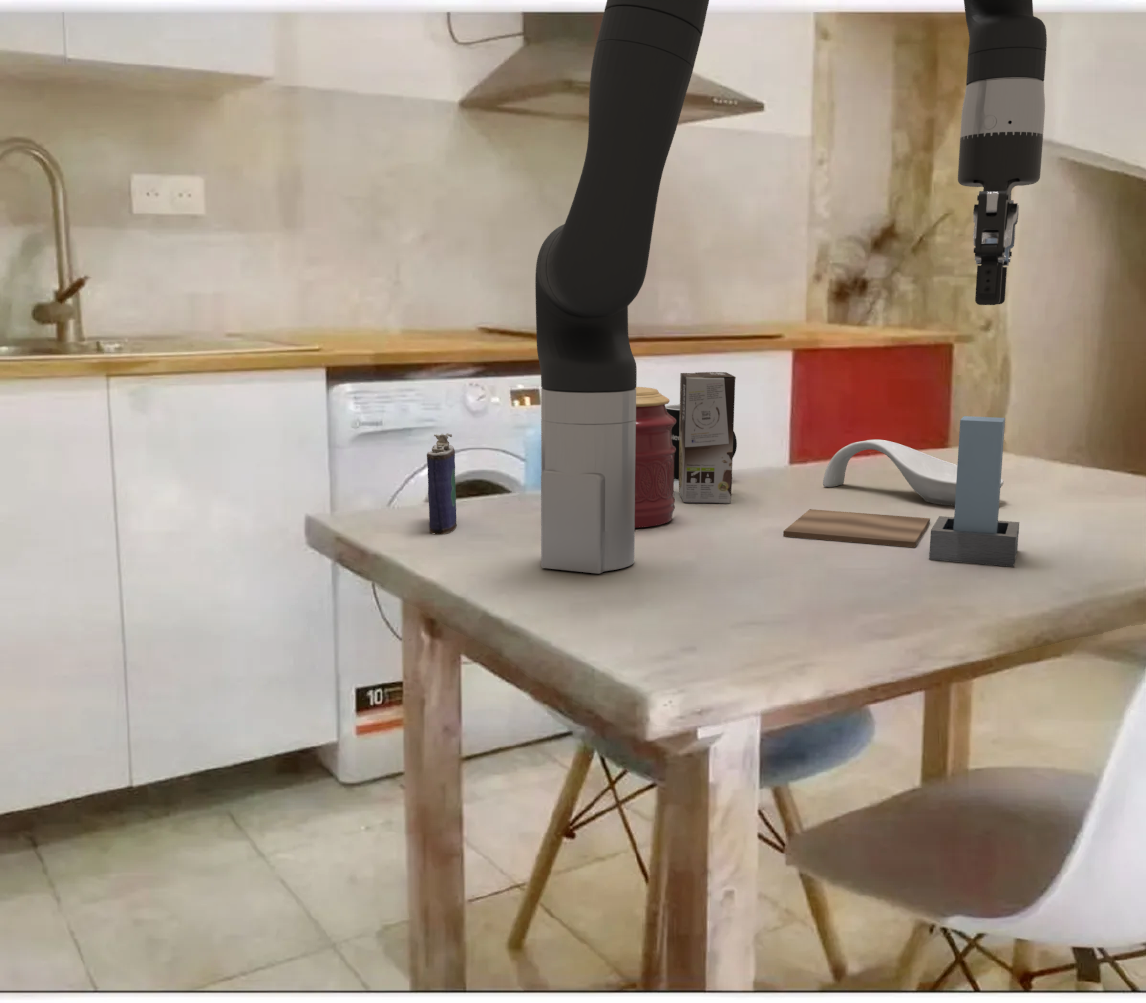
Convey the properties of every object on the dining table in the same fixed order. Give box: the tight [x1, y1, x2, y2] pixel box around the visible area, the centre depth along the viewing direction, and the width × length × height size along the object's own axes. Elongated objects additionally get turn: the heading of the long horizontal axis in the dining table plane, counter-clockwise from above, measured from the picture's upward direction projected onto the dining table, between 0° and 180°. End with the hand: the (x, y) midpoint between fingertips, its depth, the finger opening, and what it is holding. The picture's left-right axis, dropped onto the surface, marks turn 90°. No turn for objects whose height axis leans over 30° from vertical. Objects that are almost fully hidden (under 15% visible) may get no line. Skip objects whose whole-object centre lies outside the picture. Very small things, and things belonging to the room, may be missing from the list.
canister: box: [635, 386, 676, 529], centre depth 135 cm, size 13×13×18 cm
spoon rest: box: [822, 439, 1005, 506], centre depth 152 cm, size 24×12×7 cm, turn 49°
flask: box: [426, 432, 458, 535], centre depth 132 cm, size 9×3×11 cm, turn 1°
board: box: [782, 508, 931, 549], centre depth 131 cm, size 14×14×1 cm
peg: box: [953, 415, 1006, 533], centre depth 118 cm, size 4×4×14 cm
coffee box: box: [678, 371, 737, 504], centre depth 150 cm, size 9×6×16 cm
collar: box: [928, 515, 1020, 568], centre depth 119 cm, size 8×8×3 cm
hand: (990, 304), depth 114 cm, fingers open, 8 cm apart
